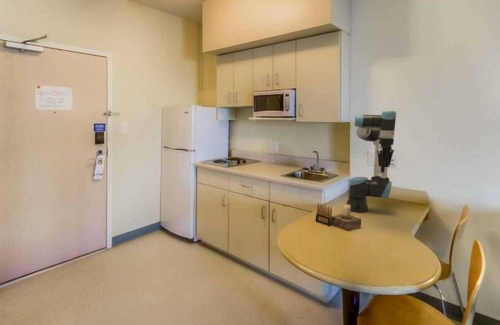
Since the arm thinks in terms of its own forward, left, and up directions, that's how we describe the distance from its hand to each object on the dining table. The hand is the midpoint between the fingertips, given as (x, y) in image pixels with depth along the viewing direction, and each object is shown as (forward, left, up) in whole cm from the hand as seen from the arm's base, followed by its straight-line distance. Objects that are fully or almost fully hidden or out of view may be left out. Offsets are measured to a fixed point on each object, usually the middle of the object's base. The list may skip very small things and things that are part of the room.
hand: (383, 177), depth 168 cm
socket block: (-9, -20, -29) cm, 36 cm away
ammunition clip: (-18, -28, -29) cm, 45 cm away
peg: (-9, -20, -28) cm, 35 cm away
